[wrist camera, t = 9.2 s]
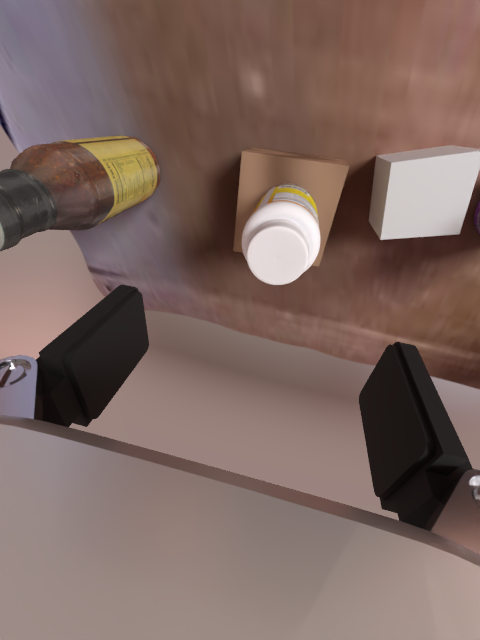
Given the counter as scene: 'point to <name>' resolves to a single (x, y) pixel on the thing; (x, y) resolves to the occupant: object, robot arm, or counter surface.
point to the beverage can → (477, 218)
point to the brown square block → (289, 168)
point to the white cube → (423, 191)
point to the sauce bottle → (74, 185)
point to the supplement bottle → (282, 235)
